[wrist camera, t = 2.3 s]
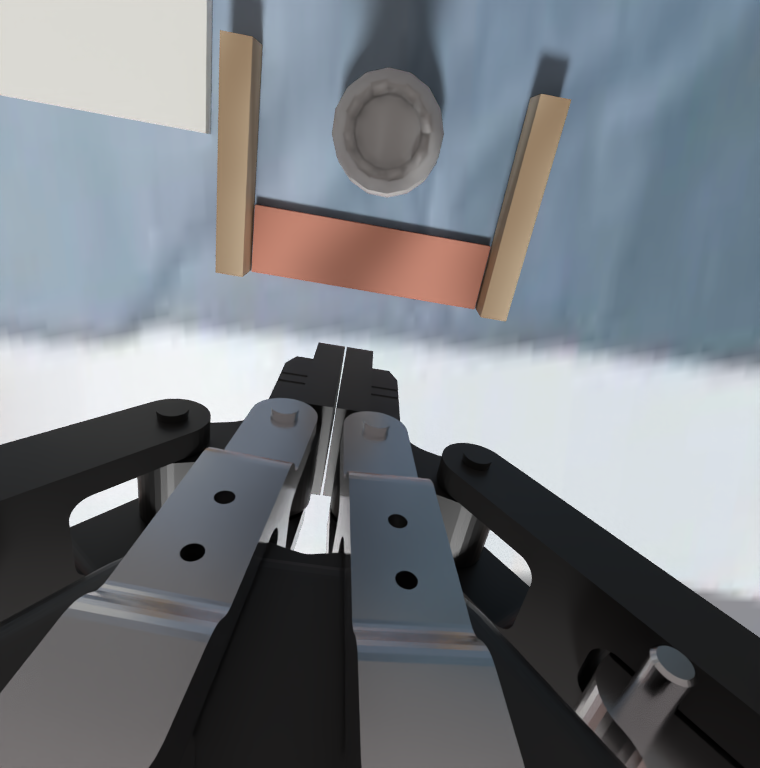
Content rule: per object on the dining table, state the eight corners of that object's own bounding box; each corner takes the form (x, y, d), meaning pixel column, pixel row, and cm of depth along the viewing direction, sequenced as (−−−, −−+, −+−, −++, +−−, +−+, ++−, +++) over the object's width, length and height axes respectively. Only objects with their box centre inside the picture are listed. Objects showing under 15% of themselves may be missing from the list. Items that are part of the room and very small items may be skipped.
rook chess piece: (333, 78, 19) (301, 32, 12) (443, 79, 19) (476, 33, 12) (337, 196, 21) (311, 216, 14) (437, 197, 21) (462, 218, 14)
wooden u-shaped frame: (558, 103, 20) (571, 99, 18) (499, 311, 23) (505, 321, 22) (231, 39, 19) (220, 30, 17) (226, 265, 23) (215, 272, 21)
